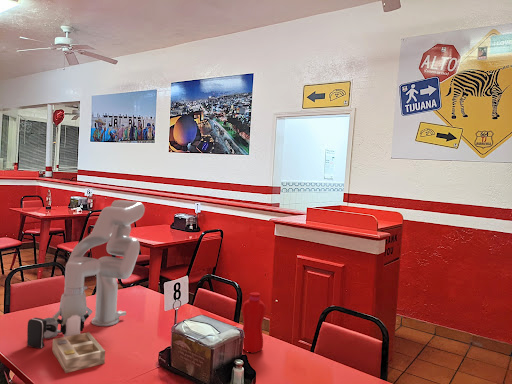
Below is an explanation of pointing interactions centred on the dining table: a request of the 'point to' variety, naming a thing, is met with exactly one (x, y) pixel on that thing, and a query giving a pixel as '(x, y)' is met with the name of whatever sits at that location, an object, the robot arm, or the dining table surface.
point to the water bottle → (253, 323)
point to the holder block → (78, 352)
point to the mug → (51, 328)
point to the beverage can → (73, 325)
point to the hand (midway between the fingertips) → (72, 331)
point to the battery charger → (36, 332)
